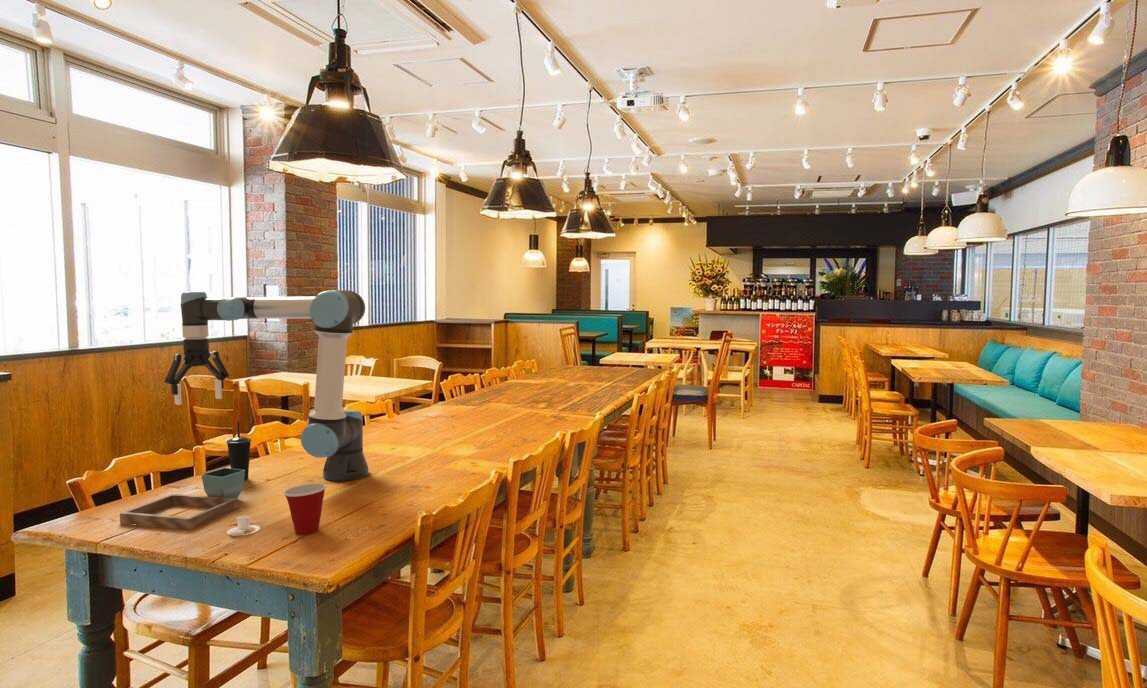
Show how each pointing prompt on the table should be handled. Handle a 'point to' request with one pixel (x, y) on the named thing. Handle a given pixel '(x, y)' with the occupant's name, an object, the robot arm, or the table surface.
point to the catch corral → (144, 516)
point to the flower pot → (224, 483)
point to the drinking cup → (239, 452)
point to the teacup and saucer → (242, 526)
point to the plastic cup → (306, 506)
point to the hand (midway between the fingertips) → (199, 401)
